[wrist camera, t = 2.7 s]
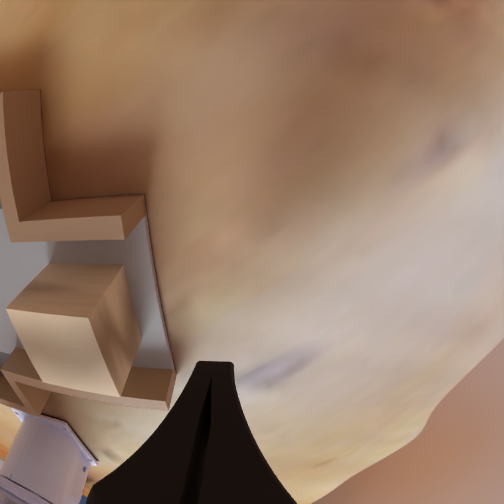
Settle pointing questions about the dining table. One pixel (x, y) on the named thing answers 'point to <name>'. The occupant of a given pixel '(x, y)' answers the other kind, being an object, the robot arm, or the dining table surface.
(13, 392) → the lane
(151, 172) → the dining table surface
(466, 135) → the dining table surface
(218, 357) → the dining table surface
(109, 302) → the maple block
